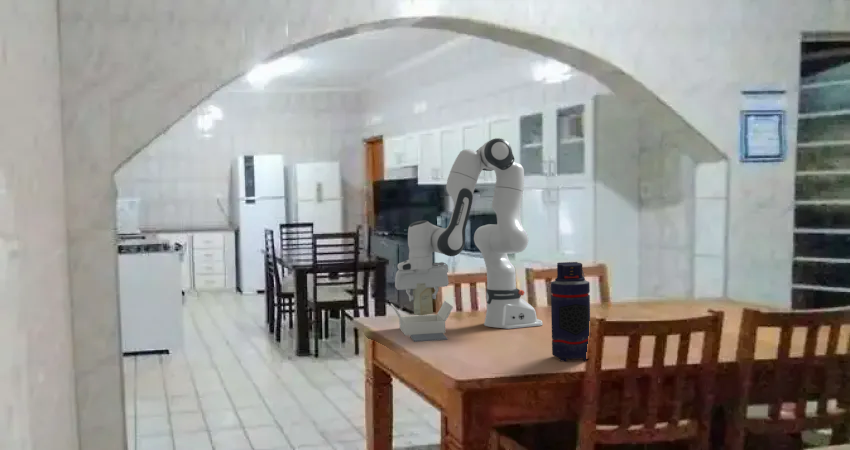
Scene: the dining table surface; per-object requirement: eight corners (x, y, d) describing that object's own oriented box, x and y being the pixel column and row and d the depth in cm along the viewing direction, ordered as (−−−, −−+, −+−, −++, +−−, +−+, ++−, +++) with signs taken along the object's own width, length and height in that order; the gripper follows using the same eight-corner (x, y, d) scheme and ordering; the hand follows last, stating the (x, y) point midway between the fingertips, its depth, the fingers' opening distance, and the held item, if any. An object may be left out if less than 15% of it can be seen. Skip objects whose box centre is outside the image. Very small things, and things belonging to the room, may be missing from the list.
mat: (442, 334, 296) (442, 332, 296) (447, 339, 286) (447, 338, 286) (410, 336, 294) (410, 334, 294) (414, 341, 284) (414, 340, 284)
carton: (446, 325, 314) (445, 300, 313) (453, 332, 299) (453, 306, 298) (391, 328, 310) (390, 303, 310) (396, 335, 295) (395, 309, 295)
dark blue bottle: (595, 361, 246) (593, 264, 244) (557, 363, 245) (555, 265, 243) (583, 351, 260) (581, 259, 258) (546, 353, 259) (545, 261, 257)
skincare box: (421, 315, 300) (419, 283, 300) (413, 314, 304) (411, 283, 303) (433, 313, 305) (431, 281, 304) (425, 312, 308) (423, 280, 307)
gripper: (446, 260, 308) (448, 296, 309) (393, 264, 304) (395, 300, 305) (449, 262, 301) (451, 299, 302) (395, 266, 298) (397, 303, 299)
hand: (422, 299), depth 304 cm, fingers closed on skincare box, 7 cm apart
